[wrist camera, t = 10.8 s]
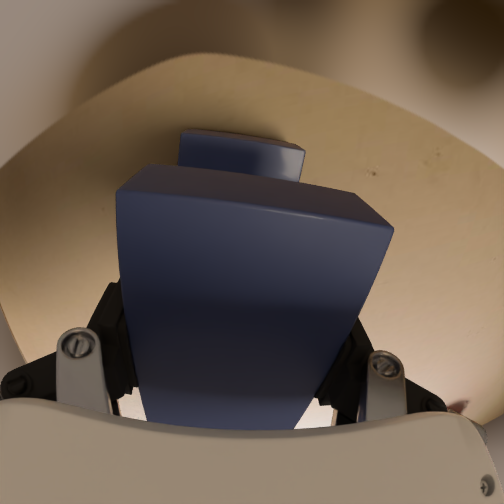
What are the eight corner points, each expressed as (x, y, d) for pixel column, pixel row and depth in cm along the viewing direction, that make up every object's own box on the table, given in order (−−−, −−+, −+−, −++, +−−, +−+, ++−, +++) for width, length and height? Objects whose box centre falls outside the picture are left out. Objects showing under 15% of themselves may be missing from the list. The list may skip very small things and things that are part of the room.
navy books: (260, 276, 22) (266, 315, 18) (180, 267, 21) (170, 305, 17) (288, 139, 17) (306, 150, 13) (192, 125, 16) (180, 132, 12)
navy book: (281, 394, 13) (288, 437, 11) (156, 385, 12) (148, 430, 10) (355, 192, 8) (396, 228, 6) (147, 162, 7) (114, 189, 5)
